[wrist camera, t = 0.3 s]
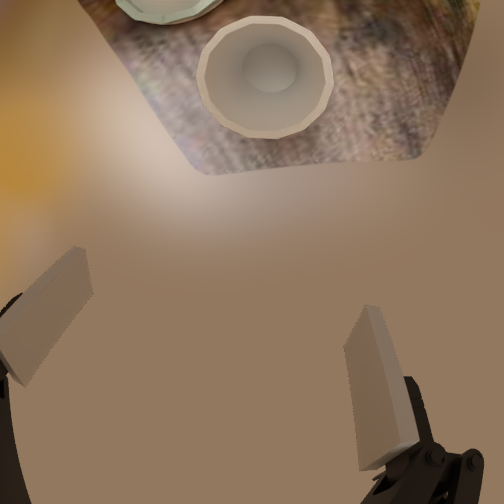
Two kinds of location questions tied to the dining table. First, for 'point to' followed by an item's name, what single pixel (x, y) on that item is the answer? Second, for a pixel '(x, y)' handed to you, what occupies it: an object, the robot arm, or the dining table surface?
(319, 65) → the foam cup
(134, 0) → the ceramic saucer
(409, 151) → the dining table surface
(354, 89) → the dining table surface
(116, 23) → the dining table surface
